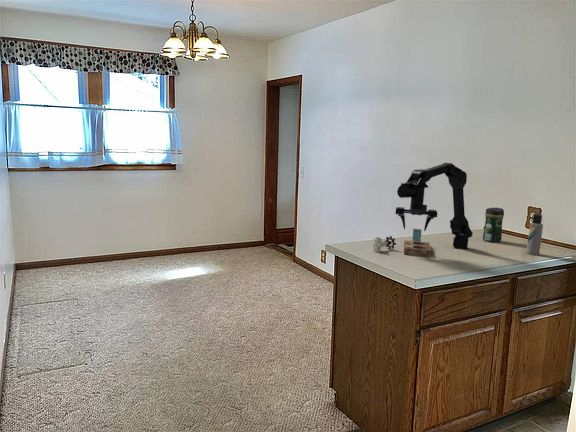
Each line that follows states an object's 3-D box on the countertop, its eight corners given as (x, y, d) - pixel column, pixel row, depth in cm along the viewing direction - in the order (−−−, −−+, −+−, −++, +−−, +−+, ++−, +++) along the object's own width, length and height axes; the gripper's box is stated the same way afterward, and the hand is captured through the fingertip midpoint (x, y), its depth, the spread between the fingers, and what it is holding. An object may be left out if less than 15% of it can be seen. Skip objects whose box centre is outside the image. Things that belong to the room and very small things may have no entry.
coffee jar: (491, 238, 270) (495, 206, 267) (503, 241, 263) (507, 208, 260) (479, 240, 265) (483, 206, 262) (491, 243, 258) (495, 209, 255)
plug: (419, 244, 247) (421, 229, 245) (420, 246, 243) (421, 230, 242) (411, 243, 248) (413, 228, 246) (411, 245, 244) (413, 229, 242)
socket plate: (428, 248, 238) (429, 242, 238) (430, 256, 221) (431, 250, 220) (403, 246, 241) (404, 239, 240) (403, 254, 224) (404, 247, 223)
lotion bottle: (538, 253, 238) (543, 213, 235) (540, 255, 233) (545, 215, 230) (525, 251, 240) (530, 212, 237) (527, 254, 235) (532, 214, 231)
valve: (379, 253, 223) (395, 250, 231) (380, 239, 222) (396, 237, 230) (368, 250, 228) (385, 247, 236) (369, 237, 227) (386, 234, 235)
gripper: (396, 197, 217) (393, 231, 220) (439, 200, 213) (436, 235, 215) (397, 195, 228) (394, 227, 230) (437, 198, 223) (434, 230, 226)
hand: (414, 230), depth 225 cm, fingers open, 9 cm apart
